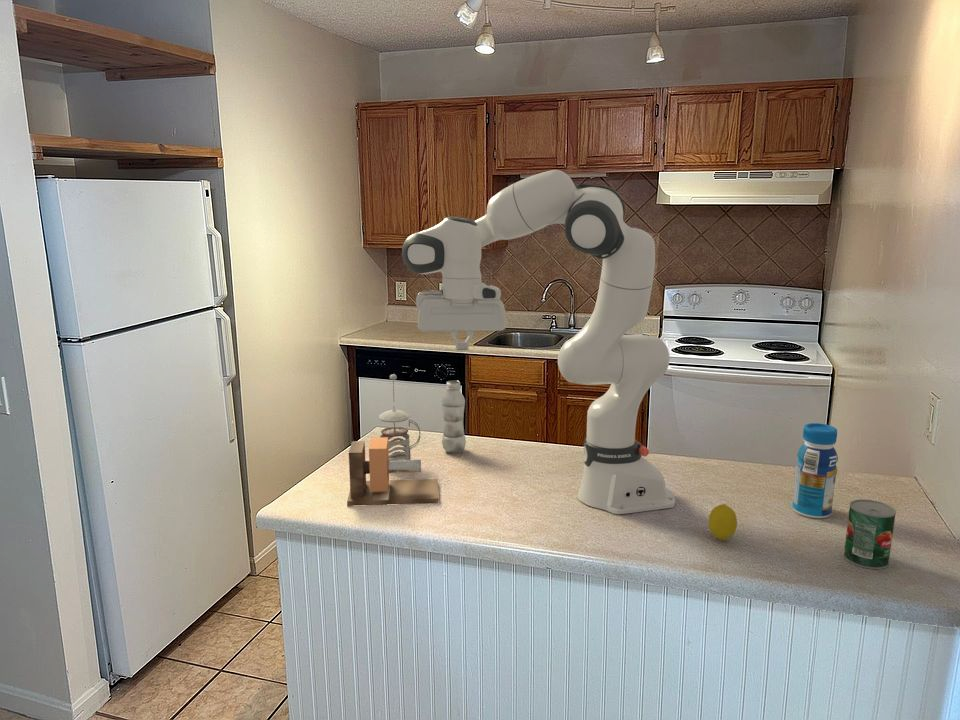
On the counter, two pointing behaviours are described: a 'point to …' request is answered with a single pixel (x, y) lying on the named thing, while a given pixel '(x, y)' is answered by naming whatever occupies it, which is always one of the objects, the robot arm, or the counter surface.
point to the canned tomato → (869, 534)
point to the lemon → (722, 522)
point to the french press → (397, 431)
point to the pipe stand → (397, 489)
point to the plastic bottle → (453, 418)
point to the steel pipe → (398, 466)
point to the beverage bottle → (816, 471)
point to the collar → (378, 464)
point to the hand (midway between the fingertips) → (462, 349)
